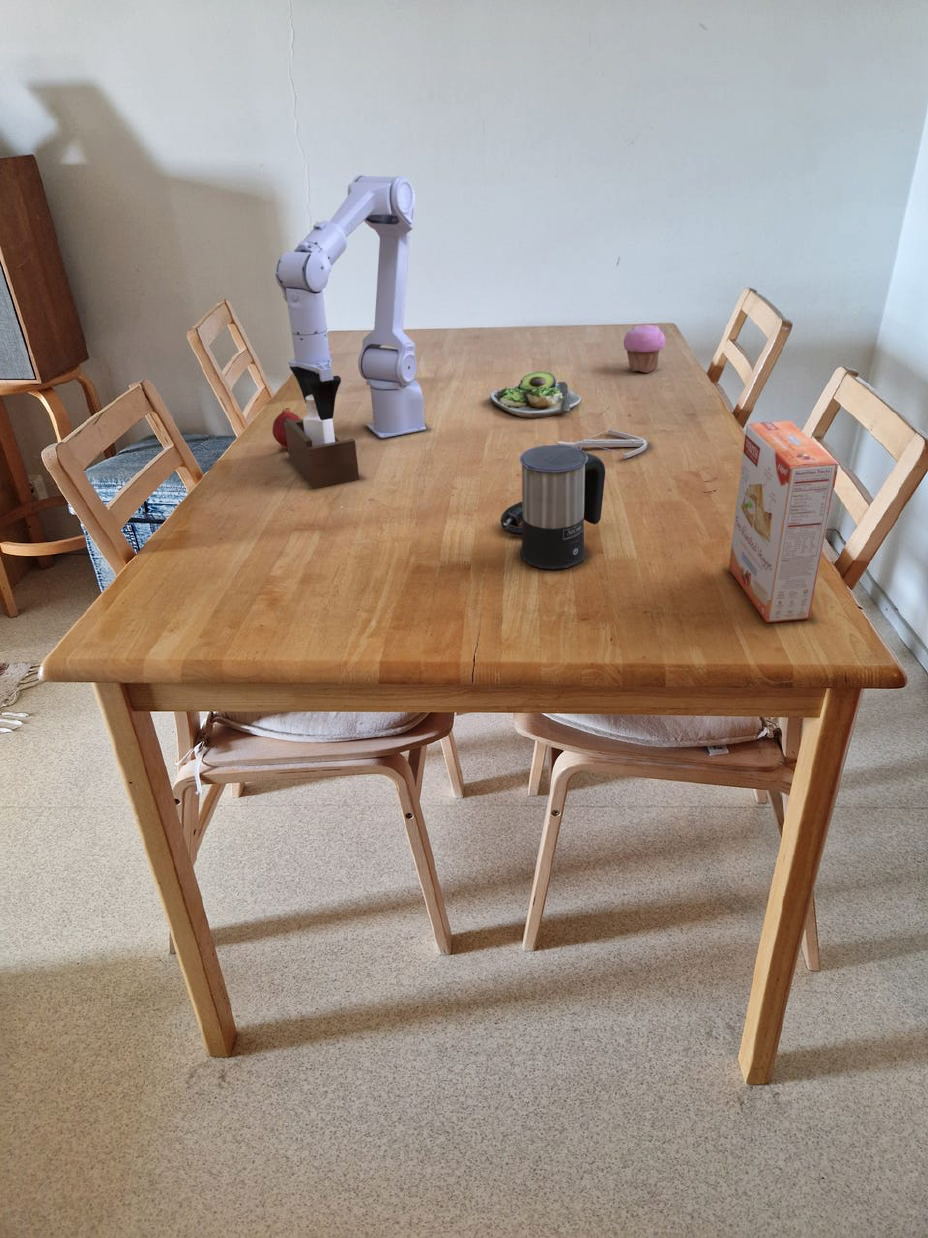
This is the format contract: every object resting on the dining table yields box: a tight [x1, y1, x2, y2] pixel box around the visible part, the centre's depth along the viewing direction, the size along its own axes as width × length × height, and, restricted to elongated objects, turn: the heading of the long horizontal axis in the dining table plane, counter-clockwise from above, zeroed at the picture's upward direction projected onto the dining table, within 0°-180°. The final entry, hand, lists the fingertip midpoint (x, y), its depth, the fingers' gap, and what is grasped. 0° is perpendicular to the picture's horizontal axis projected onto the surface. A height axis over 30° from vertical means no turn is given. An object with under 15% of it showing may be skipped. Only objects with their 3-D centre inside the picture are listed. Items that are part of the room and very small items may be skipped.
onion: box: [272, 406, 302, 449], centre depth 164 cm, size 6×6×8 cm
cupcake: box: [623, 324, 666, 374], centre depth 196 cm, size 9×9×10 cm
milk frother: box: [500, 444, 606, 570], centre depth 126 cm, size 14×16×15 cm
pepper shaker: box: [302, 395, 335, 446], centre depth 153 cm, size 4×4×10 cm
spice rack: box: [284, 418, 360, 490], centre depth 155 cm, size 8×15×8 cm, turn 25°
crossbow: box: [557, 428, 648, 460], centre depth 160 cm, size 16×13×2 cm
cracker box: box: [728, 420, 839, 624], centre depth 110 cm, size 14×6×21 cm, turn 5°
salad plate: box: [489, 371, 581, 419], centre depth 180 cm, size 19×18×5 cm
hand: (319, 412), depth 152 cm, fingers open, 7 cm apart
